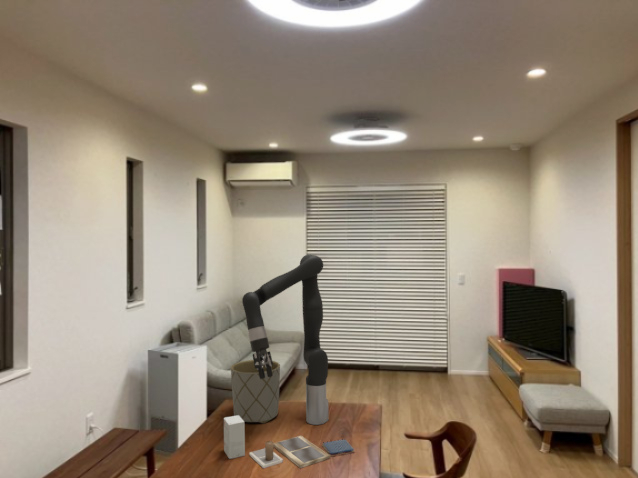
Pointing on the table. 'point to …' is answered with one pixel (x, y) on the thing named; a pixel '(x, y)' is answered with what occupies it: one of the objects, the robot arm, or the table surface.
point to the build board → (301, 451)
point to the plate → (266, 456)
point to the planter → (255, 392)
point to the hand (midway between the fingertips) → (266, 377)
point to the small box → (234, 436)
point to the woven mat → (338, 447)
